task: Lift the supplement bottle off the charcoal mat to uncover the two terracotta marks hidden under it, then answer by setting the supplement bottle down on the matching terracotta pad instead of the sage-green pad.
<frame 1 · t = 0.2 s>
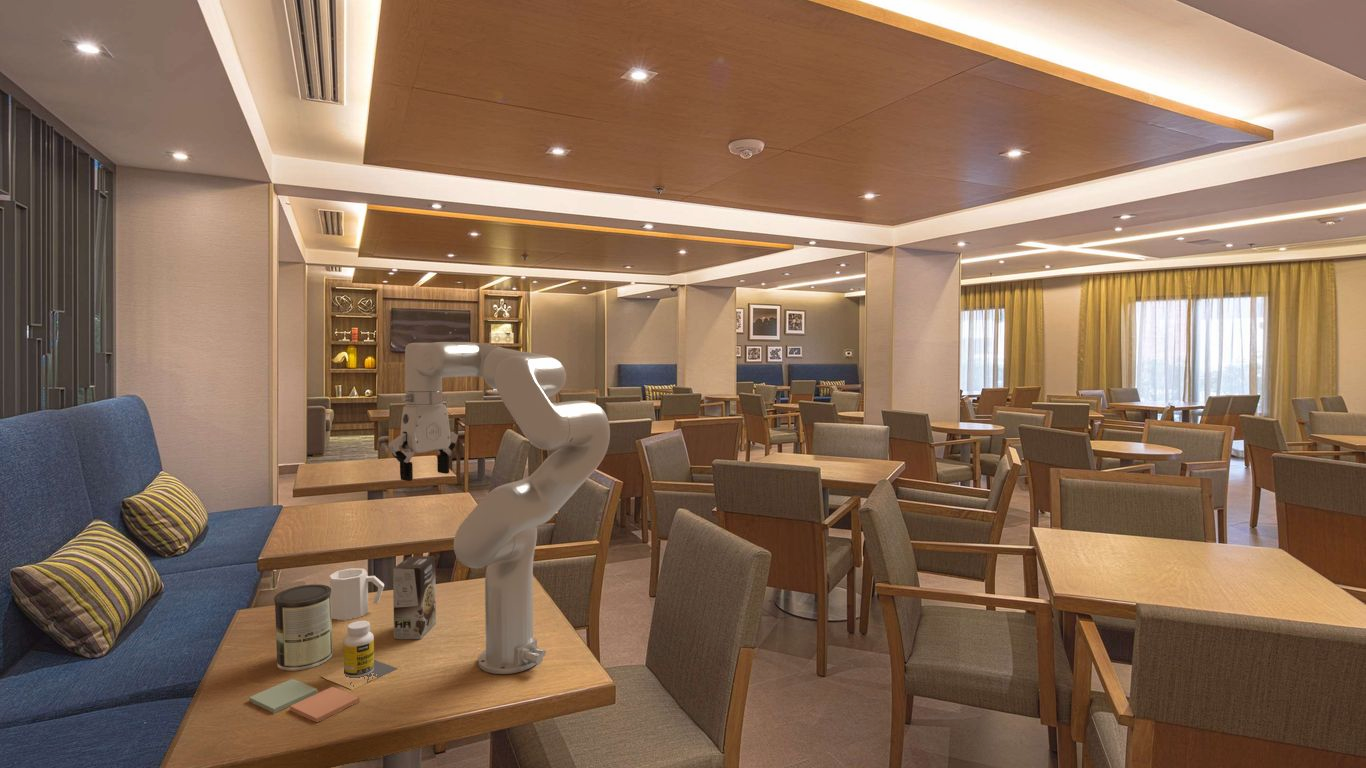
hand: (425, 476, 151), 36 cm above the table, tool pointing down, fingers open, 9 cm apart
coffee box: (415, 631, 156), on the table
code tile: (359, 672, 136), on the table
pad terracotta: (325, 706, 124), on the table
mug: (358, 613, 166), on the table
supplement bottle: (359, 673, 136), on the table, touching code tile
pad sage: (283, 697, 127), on the table
coffee can: (305, 660, 142), on the table
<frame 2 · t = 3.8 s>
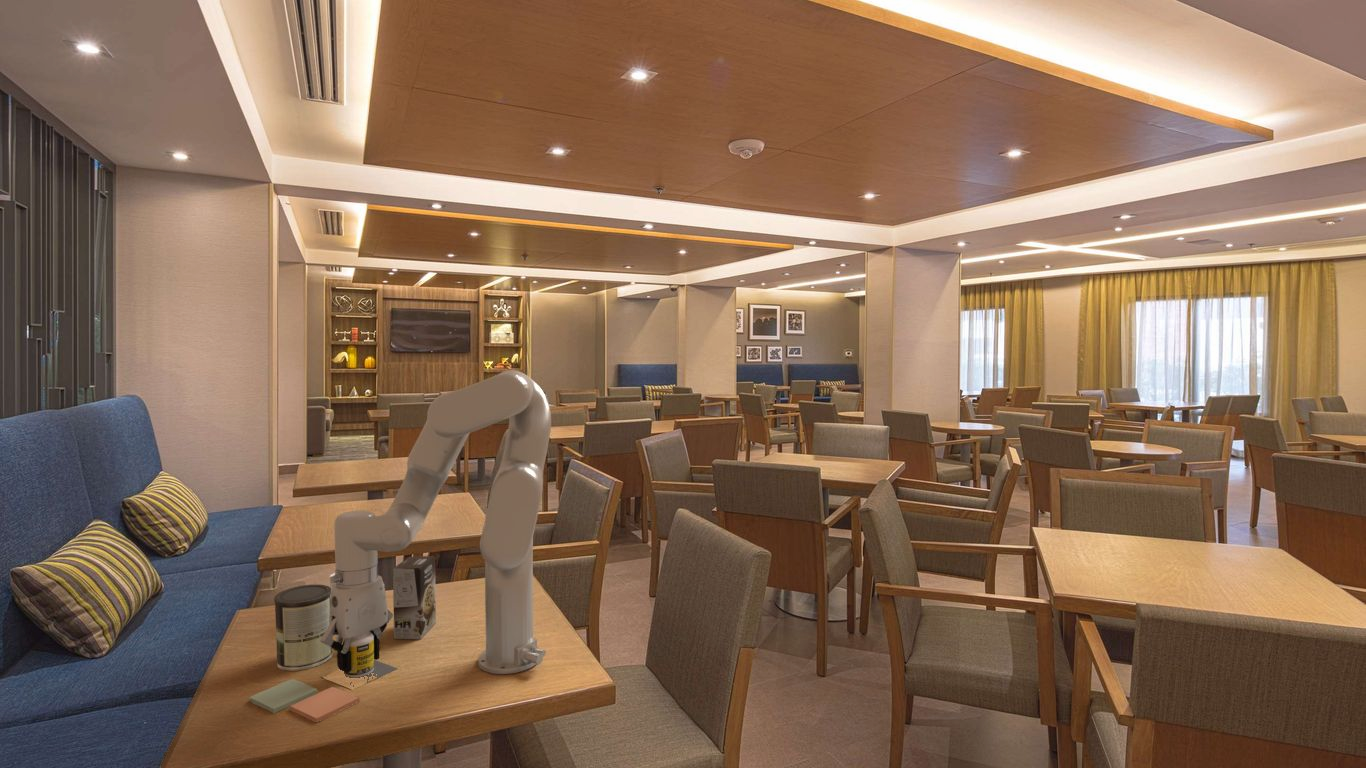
hand: (359, 663, 136), 2 cm above the table, tool pointing down, fingers closed on supplement bottle, 5 cm apart
supplement bottle: (359, 673, 136), on the table, touching code tile, gripper
everything else where it was.
when the fingers open (4 cm above the table, at t = 10.1 s): supplement bottle drops 1 cm, resting on pad terracotta.
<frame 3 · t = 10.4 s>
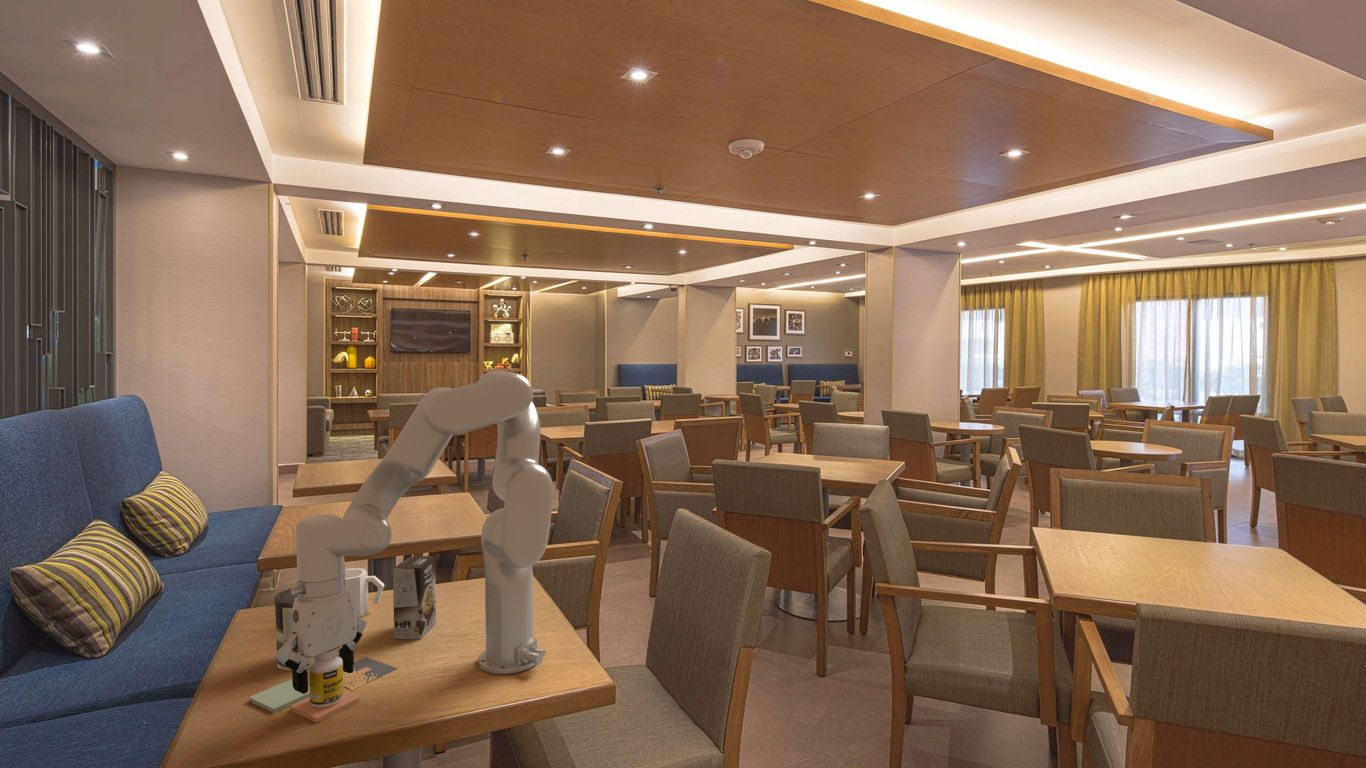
hand: (324, 680, 123), 5 cm above the table, tool pointing down, fingers open, 8 cm apart
supplement bottle: (326, 702, 124), point 1 cm above the table, touching pad terracotta
everything else where it was.
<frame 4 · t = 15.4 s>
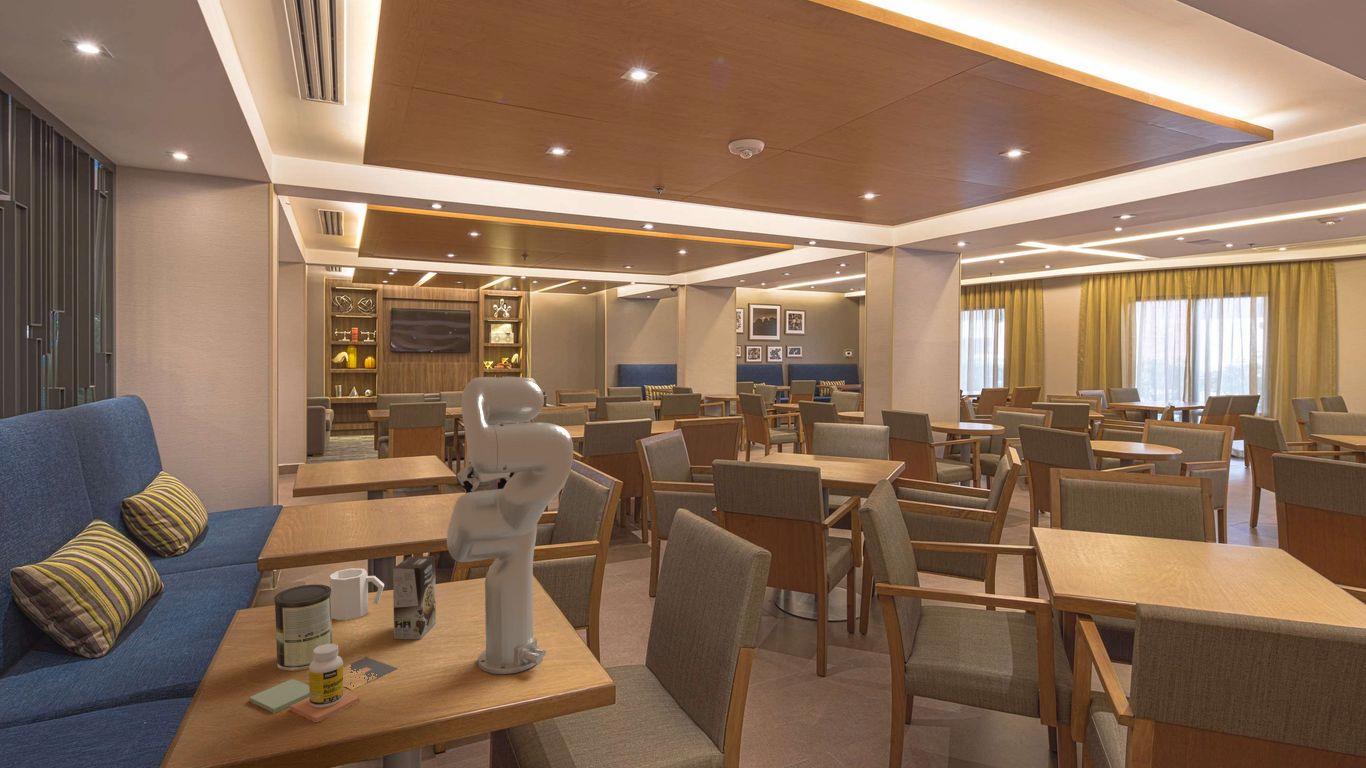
hand: (488, 503, 159), 28 cm above the table, tool pointing down, fingers open, 9 cm apart
nothing on the table moved.
at the end: supplement bottle 0.3 cm off-centre on the pad terracotta, point 0.6 cm above the pad terracotta's base; supplement bottle tilted 0°; the gripper is holding nothing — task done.
